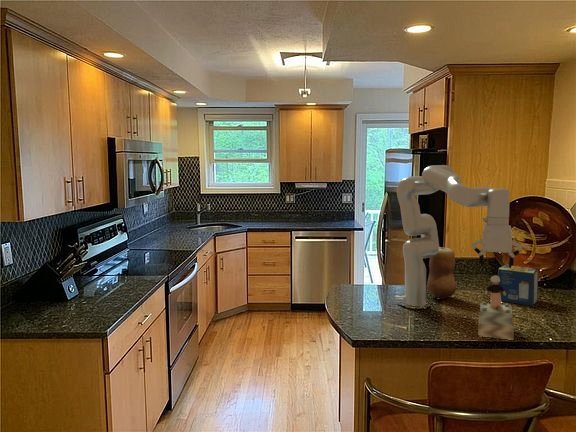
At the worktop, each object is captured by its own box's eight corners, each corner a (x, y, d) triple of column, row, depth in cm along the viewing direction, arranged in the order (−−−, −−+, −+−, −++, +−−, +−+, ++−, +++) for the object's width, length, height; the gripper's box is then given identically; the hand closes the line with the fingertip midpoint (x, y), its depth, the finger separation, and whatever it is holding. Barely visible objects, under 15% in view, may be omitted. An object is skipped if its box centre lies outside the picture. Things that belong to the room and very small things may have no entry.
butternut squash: (459, 302, 216) (460, 250, 213) (431, 302, 216) (431, 250, 214) (449, 294, 230) (450, 245, 227) (423, 294, 230) (423, 245, 227)
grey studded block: (478, 337, 171) (478, 309, 170) (478, 326, 182) (478, 300, 181) (513, 341, 167) (514, 312, 166) (511, 330, 178) (512, 303, 177)
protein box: (502, 295, 225) (503, 264, 223) (537, 300, 215) (538, 268, 214) (496, 300, 217) (497, 268, 215) (532, 306, 207) (534, 272, 206)
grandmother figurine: (501, 306, 176) (502, 274, 175) (507, 309, 172) (507, 276, 171) (482, 306, 176) (483, 274, 174) (487, 309, 172) (487, 277, 170)
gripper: (472, 222, 170) (471, 266, 172) (524, 223, 163) (522, 270, 165) (472, 219, 177) (471, 262, 179) (522, 221, 170) (520, 265, 172)
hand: (495, 266), depth 172 cm, fingers open, 9 cm apart
